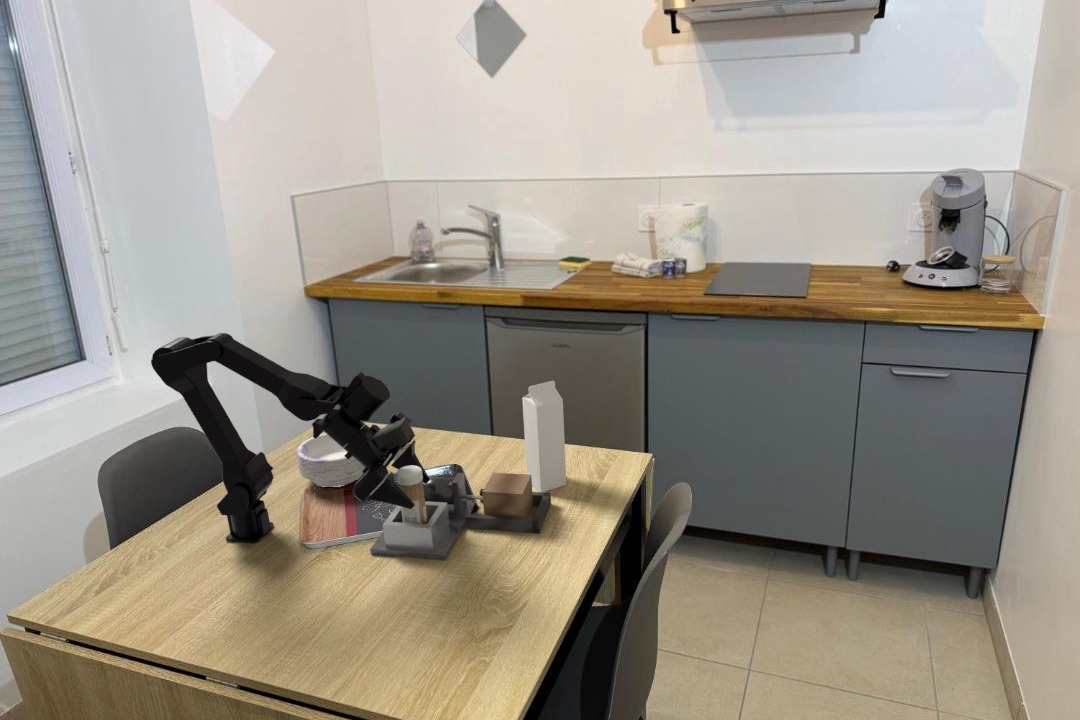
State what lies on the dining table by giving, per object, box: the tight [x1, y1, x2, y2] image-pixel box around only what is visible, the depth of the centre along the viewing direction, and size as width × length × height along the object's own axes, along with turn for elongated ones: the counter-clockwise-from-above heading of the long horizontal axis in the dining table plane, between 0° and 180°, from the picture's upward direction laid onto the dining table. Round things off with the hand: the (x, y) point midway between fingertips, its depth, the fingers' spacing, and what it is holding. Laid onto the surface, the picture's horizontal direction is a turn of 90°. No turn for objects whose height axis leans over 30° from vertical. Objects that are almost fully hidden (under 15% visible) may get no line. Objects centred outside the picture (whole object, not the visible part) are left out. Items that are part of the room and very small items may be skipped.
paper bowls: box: [296, 432, 365, 487], centre depth 168 cm, size 15×15×8 cm
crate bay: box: [465, 472, 552, 534], centre depth 150 cm, size 14×11×7 cm
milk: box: [521, 380, 567, 493], centre depth 159 cm, size 6×6×22 cm
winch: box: [369, 472, 483, 561], centre depth 146 cm, size 19×19×8 cm
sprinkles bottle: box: [395, 465, 427, 524], centre depth 141 cm, size 5×5×14 cm
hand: (420, 493), depth 141 cm, fingers open, 9 cm apart
